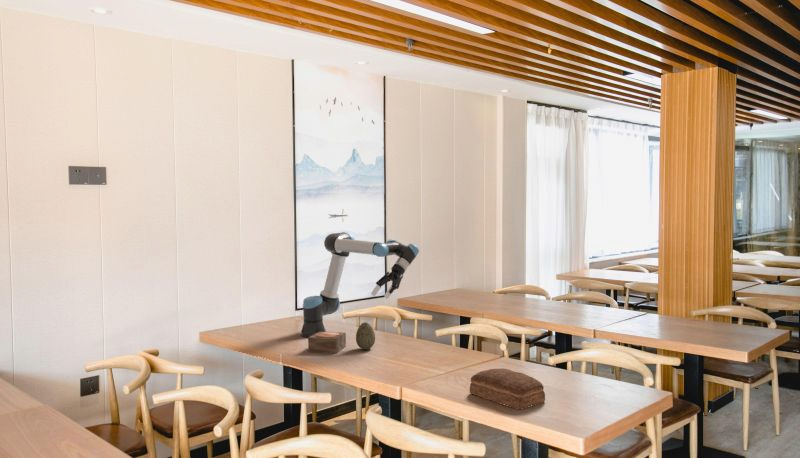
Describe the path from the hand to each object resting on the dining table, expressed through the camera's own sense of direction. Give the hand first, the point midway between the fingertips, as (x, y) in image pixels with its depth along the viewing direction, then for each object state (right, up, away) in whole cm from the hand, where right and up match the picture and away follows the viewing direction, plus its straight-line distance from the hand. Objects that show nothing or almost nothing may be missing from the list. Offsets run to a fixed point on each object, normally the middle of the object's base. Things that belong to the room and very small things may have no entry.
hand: (378, 296), depth 357 cm
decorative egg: (-7, -29, -4) cm, 30 cm away
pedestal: (-28, -29, -3) cm, 41 cm away
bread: (+56, -33, -93) cm, 114 cm away
